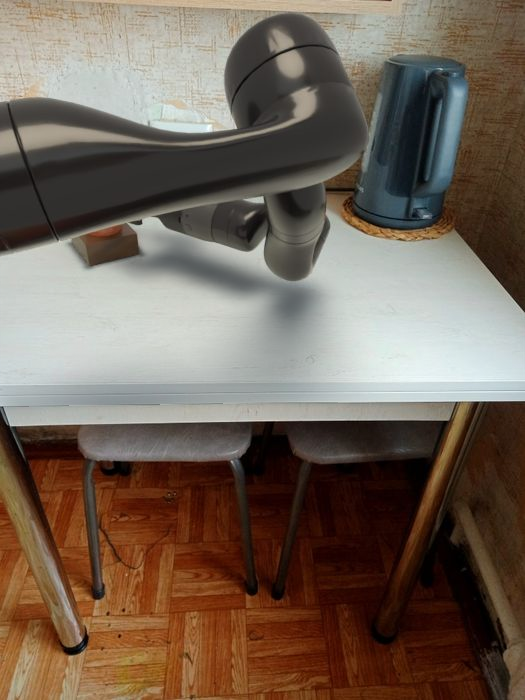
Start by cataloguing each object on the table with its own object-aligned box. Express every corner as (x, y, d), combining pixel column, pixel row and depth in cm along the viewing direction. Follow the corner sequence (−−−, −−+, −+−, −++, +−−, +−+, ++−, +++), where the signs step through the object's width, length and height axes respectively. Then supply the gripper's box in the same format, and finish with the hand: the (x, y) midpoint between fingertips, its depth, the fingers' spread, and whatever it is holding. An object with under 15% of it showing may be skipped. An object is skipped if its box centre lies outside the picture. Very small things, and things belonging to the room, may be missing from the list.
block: (89, 266, 86) (85, 245, 84) (72, 243, 92) (68, 223, 89) (139, 253, 90) (137, 233, 88) (120, 233, 96) (117, 213, 93)
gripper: (224, 173, 78) (141, 150, 84) (167, 204, 69) (78, 176, 74) (224, 218, 83) (145, 194, 89) (171, 253, 73) (86, 224, 79)
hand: (114, 186), depth 81 cm, fingers open, 8 cm apart
